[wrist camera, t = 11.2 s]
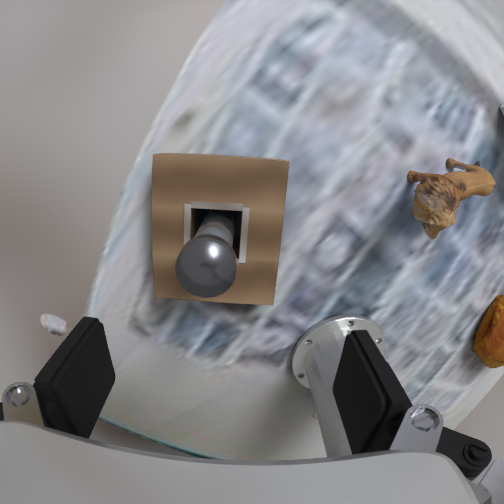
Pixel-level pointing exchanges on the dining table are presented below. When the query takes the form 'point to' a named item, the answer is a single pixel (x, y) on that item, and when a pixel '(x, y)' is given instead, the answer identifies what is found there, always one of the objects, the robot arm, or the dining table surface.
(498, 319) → the croissant
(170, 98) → the dining table surface
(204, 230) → the key peg
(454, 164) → the lion figurine
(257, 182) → the block
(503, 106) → the supplement box
